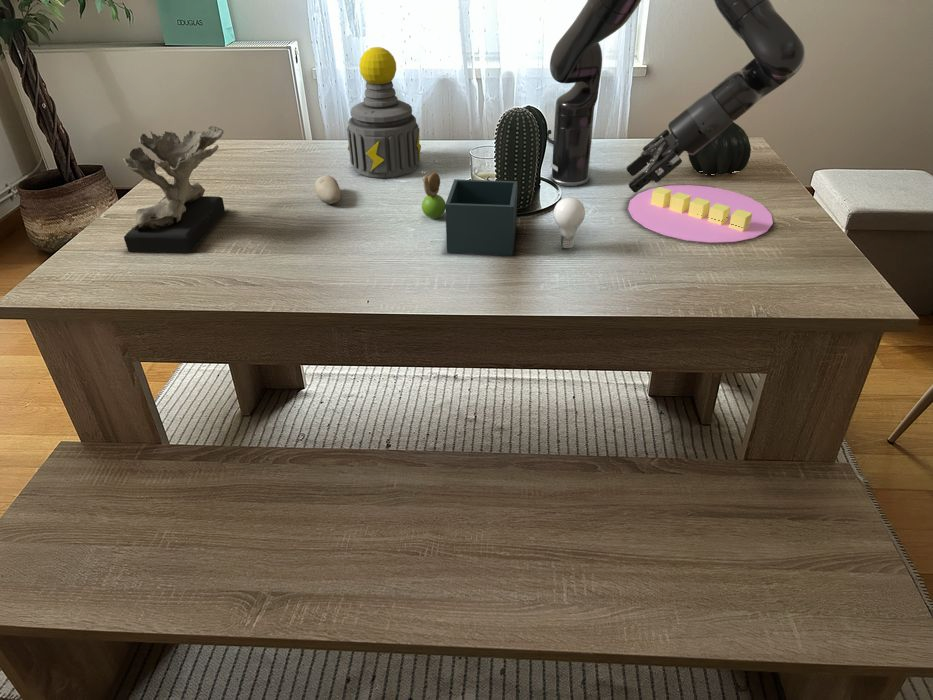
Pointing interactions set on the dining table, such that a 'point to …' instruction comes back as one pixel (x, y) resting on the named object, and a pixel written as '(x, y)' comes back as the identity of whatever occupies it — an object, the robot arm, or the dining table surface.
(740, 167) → the squash
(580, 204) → the lightbulb
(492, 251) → the trash bin
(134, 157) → the coral
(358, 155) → the decorative lamp
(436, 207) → the green ball figurine
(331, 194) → the stone
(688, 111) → the robot arm
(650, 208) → the platter
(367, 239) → the dining table surface
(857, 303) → the dining table surface
